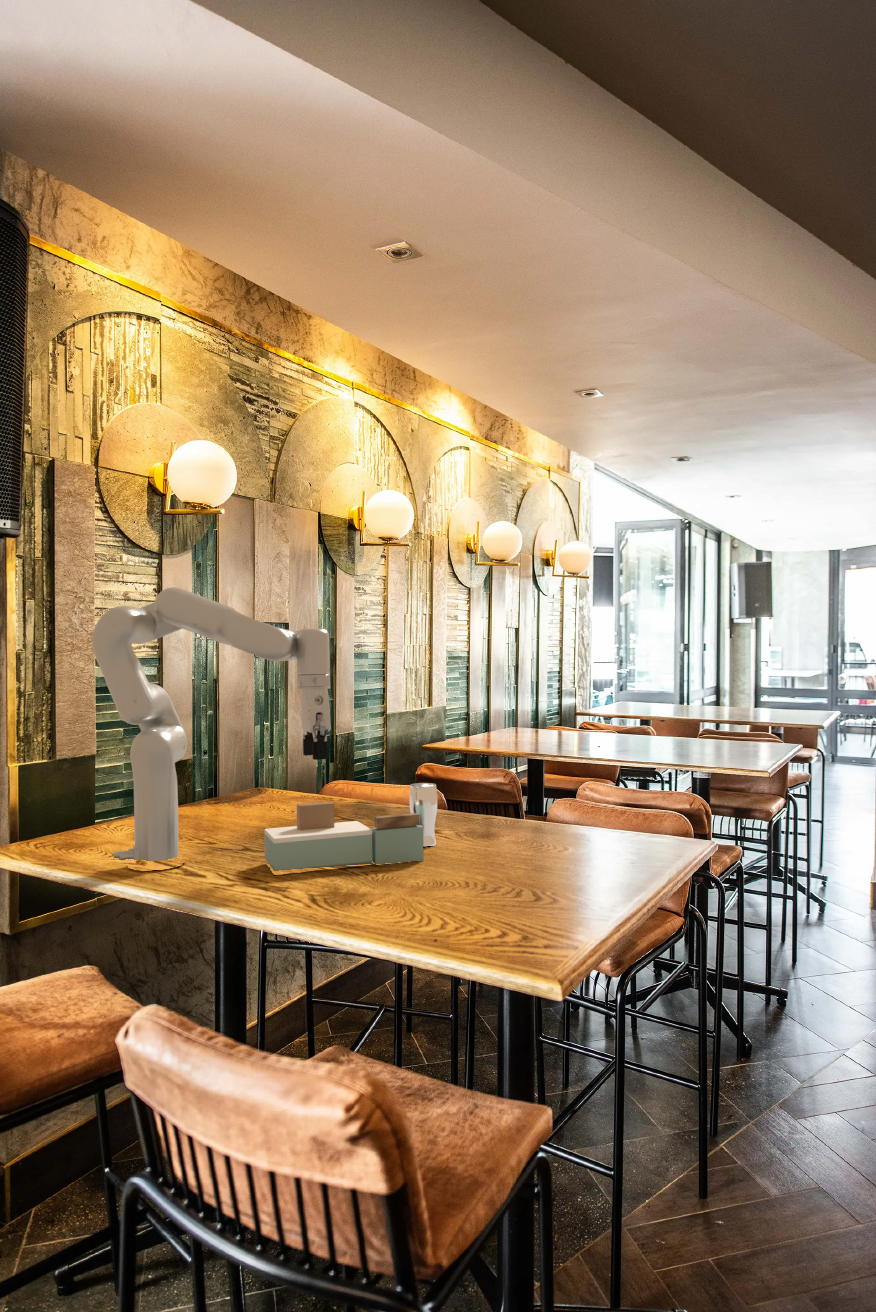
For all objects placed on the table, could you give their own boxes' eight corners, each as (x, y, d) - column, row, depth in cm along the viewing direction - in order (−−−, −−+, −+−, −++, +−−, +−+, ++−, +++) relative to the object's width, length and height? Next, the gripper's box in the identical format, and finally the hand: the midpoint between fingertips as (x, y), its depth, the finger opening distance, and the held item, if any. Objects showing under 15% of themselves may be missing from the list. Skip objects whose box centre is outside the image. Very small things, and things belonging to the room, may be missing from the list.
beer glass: (439, 842, 213) (438, 782, 214) (436, 848, 207) (435, 786, 207) (412, 841, 214) (411, 782, 214) (408, 847, 207) (407, 786, 207)
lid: (274, 848, 182) (273, 813, 182) (264, 838, 193) (264, 804, 193) (372, 839, 190) (371, 805, 190) (357, 830, 201) (356, 797, 201)
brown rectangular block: (377, 828, 190) (377, 818, 190) (374, 827, 192) (374, 816, 192) (419, 824, 194) (418, 814, 194) (415, 823, 196) (415, 812, 196)
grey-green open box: (275, 876, 181) (274, 840, 181) (264, 863, 193) (264, 829, 193) (423, 860, 193) (423, 826, 194) (405, 849, 205) (404, 817, 205)
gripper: (339, 682, 187) (340, 760, 187) (320, 681, 203) (322, 752, 203) (305, 683, 184) (307, 762, 184) (289, 682, 200) (291, 754, 200)
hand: (314, 757), depth 193 cm, fingers open, 9 cm apart
